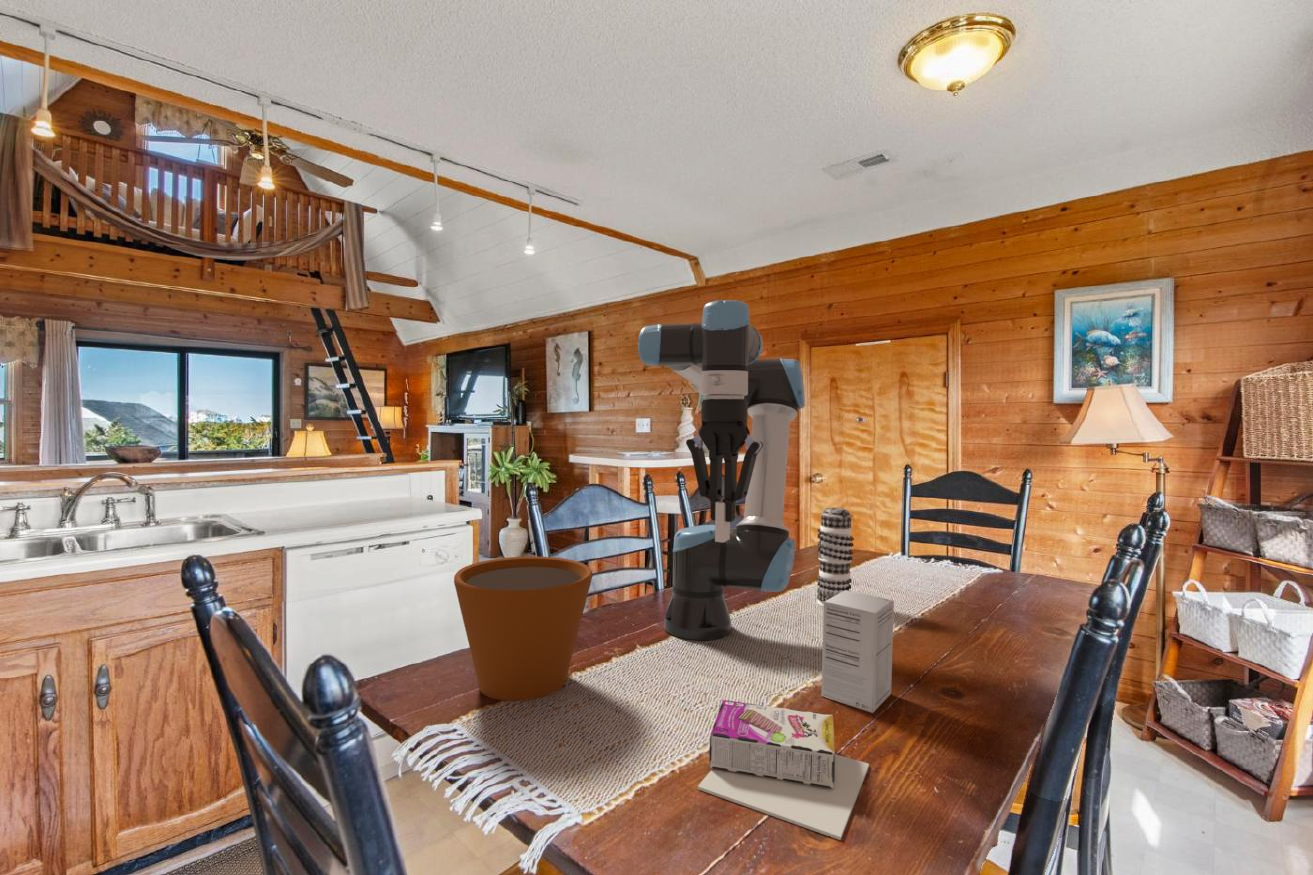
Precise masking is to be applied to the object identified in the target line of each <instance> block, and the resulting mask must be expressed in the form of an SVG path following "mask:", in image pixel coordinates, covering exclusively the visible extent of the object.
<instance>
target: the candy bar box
mask: <svg viewBox="0 0 1313 875" xmlns="http://www.w3.org/2000/svg"><path fill="white" fill-rule="evenodd" d="M834 720H835V719H834V715H833V714H827V713H821V712H820V713H819V712H815V711H814V712H812V711H805V710H799V709H798V710H797V709H790V708H784V707H776V706H770V705H769V706H768V705H761V704H755V703H747V702H740V701H733V700H728V699H727V700H726V699H723V700H721V704H720V707H719V710H718V712H717V716H716V717H715V721H714V724H713V727H712V729H711V732H710V735H709V736H710V737H709V755H708V756H709V758H708V759H709V760H708V761H709V768H710V769H713V768H716V769H721V770H727V771H732V772H739V773H744V774H750V775H756V776H762V777H768V778H773V779H779V780H785V781H791V782H797V783H803V784H809V785H815V786H821V787H827V788H831V789H834V781H835V754H836V751H835V750H836V748H835V746H836V743H835V738H836V737H835V726H834V725H835V723H834Z"/></svg>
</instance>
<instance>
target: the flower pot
mask: <svg viewBox="0 0 1313 875" xmlns="http://www.w3.org/2000/svg"><path fill="white" fill-rule="evenodd" d="M592 579H593V570H592V569H591V567H589V566H588V565H587V564H585V563H584V562H580V561H578V560H577V561H576V560H573V559H568V558H562V557H554V556H553V557H552V556H513V557H510V556H509V557H503V558H501V557H500V558H493V559H488V560H483V561H479V562H475V563H472V564H469V565H466V566H464V567H461V568H460V569H459V570H458V571H457V572H456V573H455V574H454V576H453V584H454V588H455V592H456V596H457V600H458V604H459V608H460V613H461V617H462V621H463V624H464V628H465V632H466V633H465V634H466V638H467V641H468V646H469V650H470V654H471V659H472V663H473V667H474V672H475V675H476V679H477V685H478V687H479V691H480V692H481V694H482V695H484V696H486V697H487V698H491V699H494V700H499V701H507V702H516V701H517V702H518V701H528V700H535V699H539V698H543V697H546V696H549V695H551V694H555V693H556V692H557V691H559V690H560V689H562V688H563V687H564V686H565V685H566V681H567V677H568V674H569V669H570V665H571V662H572V657H573V654H574V650H575V647H576V641H577V639H578V634H579V629H580V626H581V623H582V618H583V614H584V612H585V607H586V602H587V600H588V599H587V598H588V595H589V591H590V587H591V583H592Z"/></svg>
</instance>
